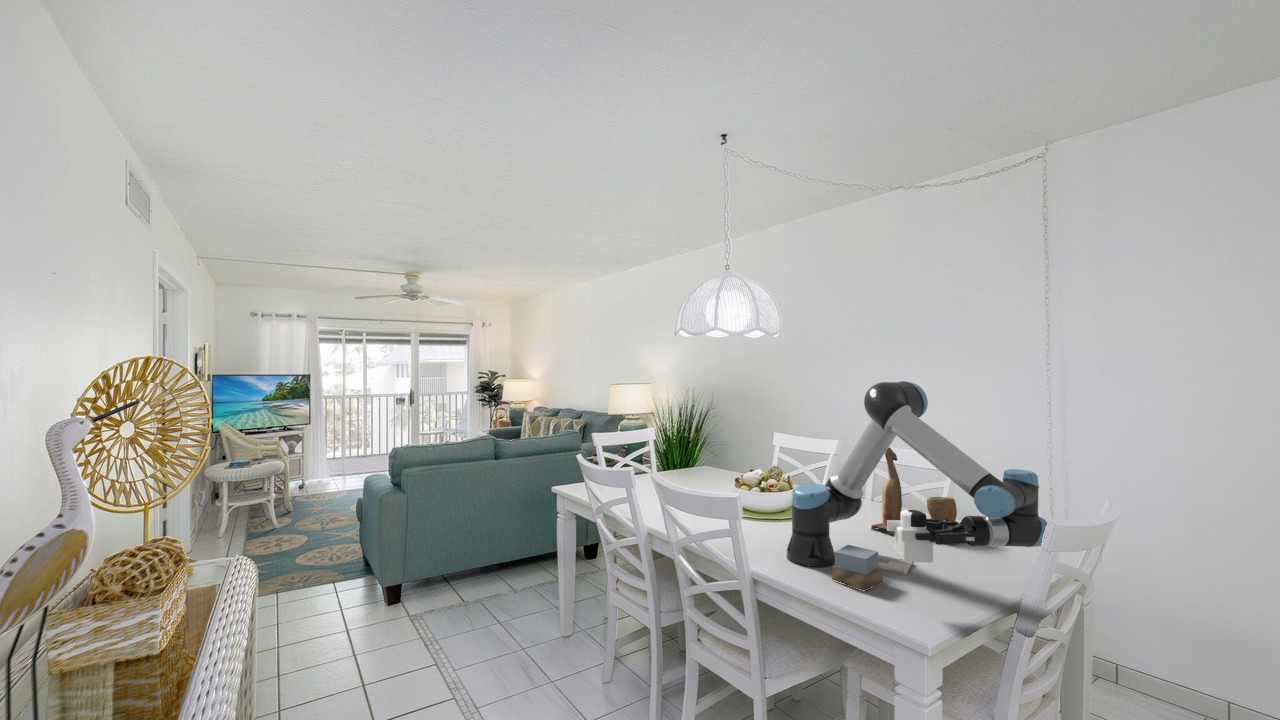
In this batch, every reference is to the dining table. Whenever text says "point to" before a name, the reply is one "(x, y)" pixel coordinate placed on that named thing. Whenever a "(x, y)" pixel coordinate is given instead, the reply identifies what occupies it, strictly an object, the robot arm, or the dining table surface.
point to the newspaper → (894, 564)
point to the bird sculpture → (890, 493)
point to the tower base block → (858, 578)
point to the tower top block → (856, 559)
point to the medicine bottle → (913, 549)
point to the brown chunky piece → (942, 508)
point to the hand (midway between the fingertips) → (894, 530)
